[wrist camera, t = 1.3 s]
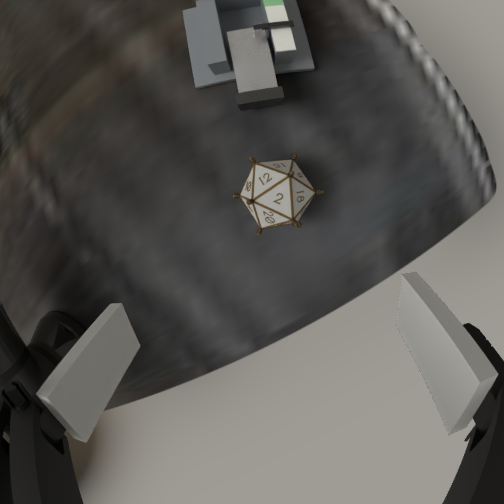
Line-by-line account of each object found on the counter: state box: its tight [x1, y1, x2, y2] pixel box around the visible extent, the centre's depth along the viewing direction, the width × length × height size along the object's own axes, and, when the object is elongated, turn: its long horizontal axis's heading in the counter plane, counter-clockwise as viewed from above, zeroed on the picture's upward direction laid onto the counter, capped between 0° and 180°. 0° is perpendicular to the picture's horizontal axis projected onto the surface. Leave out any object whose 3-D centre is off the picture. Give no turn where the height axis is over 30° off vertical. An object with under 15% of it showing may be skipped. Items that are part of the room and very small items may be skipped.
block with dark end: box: [227, 20, 294, 111], centre depth 24 cm, size 7×9×5 cm
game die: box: [233, 153, 324, 236], centre depth 29 cm, size 9×8×10 cm
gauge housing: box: [183, 0, 314, 89], centre depth 23 cm, size 14×12×6 cm
